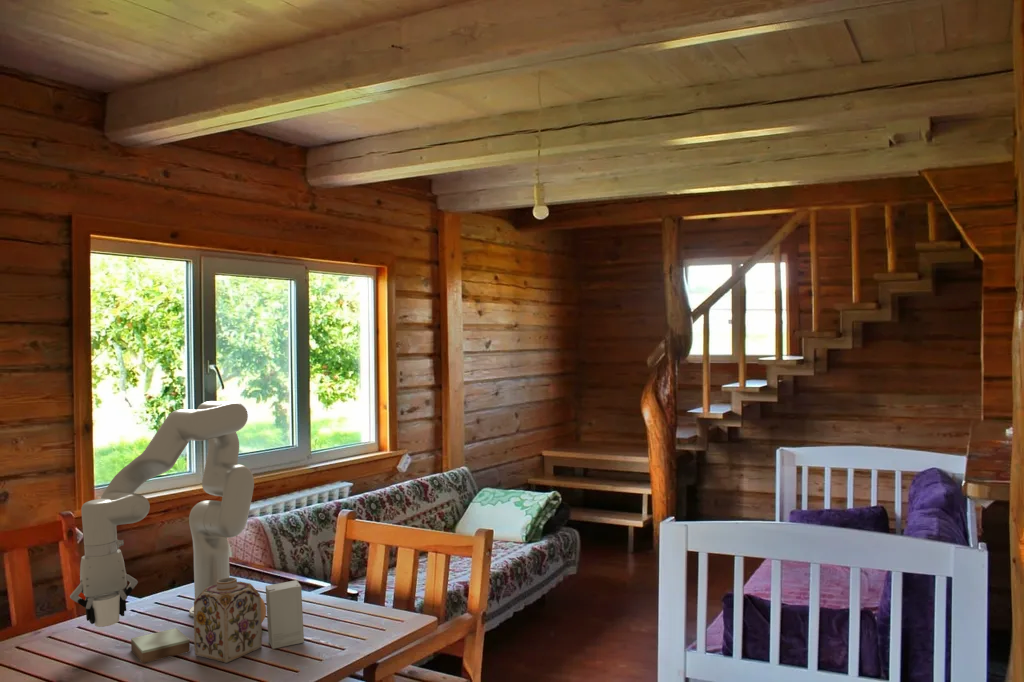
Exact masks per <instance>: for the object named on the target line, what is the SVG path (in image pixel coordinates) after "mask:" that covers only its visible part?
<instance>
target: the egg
mask: <svg viewBox="0 0 1024 682" xmlns="http://www.w3.org/2000/svg"><path fill="white" fill-rule="evenodd" d="M260 598H261V624H262V623H263V622H264V620H265V619H266V617H267V605H266V603H265V602H264V600H263V598H262V597H261V596H260Z"/></svg>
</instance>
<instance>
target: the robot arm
mask: <svg viewBox="0 0 1024 682" xmlns="http://www.w3.org/2000/svg"><path fill="white" fill-rule="evenodd" d="M248 417H249V415H248V411H247V408H246V407H245V406H244V405H243V404H241V403H240V402H238V401H223V400H221V401H220V400H209V401H205V402H202V403H200V404H199V405H198V407H197V409H186V408H185V409H184V408H183V409H176V410H173V411H172V412H170V413H169V414H168V415H167V417H166V419H164V421H163V422H162V424H161V426H160V427H159V429H158V430H157V432H156V433H154V436H153V437H152V439H151V440H150V442H149V443H148V444H147V446H146V448H145V449H144V450H143V452H142V453H141V454H140V455H138V456H137V457H135V458H134V459H133V460H132V461H130V462H128V464H126V466H124V467H123V468H122V469H120V471H119V472H117V473H116V474H115V476H114V477H113V479H111V480H110V482H109V484H108V485H107V486H106V488H105V490H104V491H103V493H102V495H101V497H100V498H97V499H92V500H89V501H86V502H85V503H83V504H82V505H81V508H80V509H81V510H80V511H81V522H82V523H81V524H82V536H83V545H84V547H83V548H84V549H83V550H84V555H83V556H81V559H80V565H79V566H80V568H79V571H80V572H79V576H80V577H79V581H80V583H79V584H78V585H77V587H76V588H75V589H74V590H73V591H72V592H71V594H70V595H69V598H70V599H71V600H72V601H74V602H75V603H76V604H79V605H80V606H81V607H83V608H85V615H86V616H85V618H86V621H87V622H88V621H89V622H90V624H91V625H93V624H94V623H95V619H94V608H92V603H93V600H94V597H96V596H100V595H104V594H108V593H112V592H116V591H117V592H118V593H119V594H120V613H119V616H121V617H125V612H126V611H127V599H128V596H129V595H130V594H131V593H132V591H133V590H134V589H135V587H136V586H137V584H138V583H139V581H138V580H137V579H136V578H134V577H133V576H131V575H130V574H127V571H126V567H125V566H126V564H125V561H124V557H123V553H122V550H121V549H120V547H121V546H124V545H125V544H124V543H125V542H124V539H118V533H117V532H118V531H117V526H120V525H127V524H134V523H135V524H136V523H138V522H141V521H142V520H144V518H146V517H147V515H148V514H149V512H150V508H151V507H150V506H151V505H150V502H149V500H148V499H147V497H145V496H144V495H142V494H139V493H135V492H137V490H138V489H139V488H140V487H141V486H142V485H144V484H145V483H146V482H147V481H149V480H151V479H153V478H155V477H158V476H160V475H162V474H164V473H166V472H169V471H170V470H171V469H172V468H173V467H174V466H175V464H176V462H177V461H178V459H179V458H180V456H181V455H182V454H183V452H184V450H185V449H186V447H187V446H188V444H189V443H190V441H195V442H201V441H202V442H203V441H207V440H208V451H207V455H206V459H205V460H206V461H205V466H204V471H203V474H202V479H201V486H202V490H203V491H204V492H205V493H206V494H209V495H211V496H215V497H222V498H221V501H220V500H212V499H211V500H210V499H209V500H207V499H206V500H205V499H204V500H201V501H200V502H197V503H196V504H194V506H193V507H192V508H191V510H190V512H189V517H188V522H189V529H190V534H191V538H192V550H193V580H194V582H193V583H194V584H193V585H194V588H193V589H194V601H195V600H196V598H197V597H198V596H199V595H200V593H202V592H203V590H204V589H205V588H206V587H209V586H212V585H216V584H217V580H219V579H223V578H229V577H230V576H231V575H230V546H229V541H228V538H229V539H230V538H235V537H237V536H239V535H240V534H241V533H242V532H243V531H244V529H245V527H246V525H247V522H248V519H249V513H250V509H251V506H252V505H251V504H252V500H253V494H254V489H255V479H254V474H253V473H252V471H251V469H250V468H249V467H248V466H245V465H243V464H238V460H239V454H240V453H239V452H240V440H239V436H238V434H237V432H239V431H240V430H242V429H243V428H244V426H245V425H246V424H247V422H248ZM128 582H129V584H128ZM80 594H83V596H84V597H85V599H83V598H82V597H80V596H79V595H80ZM188 614H189V615H190V617H193V618H194V605H192V607H190V608H189V611H188ZM94 625H95V624H94Z"/></svg>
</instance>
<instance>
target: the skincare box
mask: <svg viewBox="0 0 1024 682" xmlns="http://www.w3.org/2000/svg"><path fill="white" fill-rule="evenodd" d="M302 589H303V588H302V585H301V584H300V583H299V581H298V580H296V579H295V580H290V581H286V582H279V583H275V584H268V585H265V602H266V603H265V605H266V617H267V636H268V638H267V639H268V643H269V645H270V647H271V649H272V650H273V649H279V648H285V647H287V646H294V645H298V644H302V643H305V635H304V634H305V633H304V632H305V631H304V617H303V613H304V612H303V595H302V592H303V591H302Z"/></svg>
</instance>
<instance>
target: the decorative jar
mask: <svg viewBox="0 0 1024 682" xmlns="http://www.w3.org/2000/svg"><path fill="white" fill-rule="evenodd" d="M260 597H261V594H260V593H259V591H258V590H257V589H256V588H255V587H254V586H253V584H252V583H250V582H245V581H238V580H237V578H236V577H229V578H223V579H219V580H217V584H216V585H212V586H209V587H206V588H205V589H204V590H203V592H202V593H200V595H199V596H198V597H197V598H196V600H195V599H194V601H193V606H194V617H193V635H194V636H193V638H194V639H193V641H194V655H195V656H197V657H202V658H204V659H205V658H206V659H209V660H212V661H217V662H221V663H226V664H228V663H230V662H232V661H235V660H236V659H239V658H242V657H244V656H246V655H248V654H249V653H252V651H253V652H255V651H257V650H258V649H261V648H262V644H263V641H262V640H263V638H262V637H263V634H262V633H263V632H262V623H261V598H262V597H261V598H260Z"/></svg>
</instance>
